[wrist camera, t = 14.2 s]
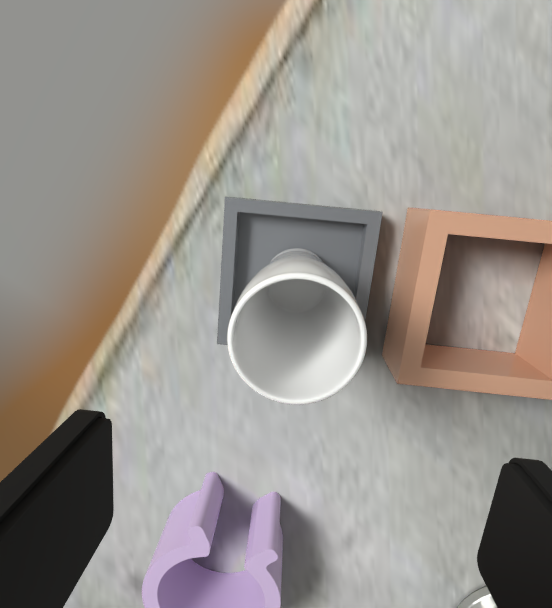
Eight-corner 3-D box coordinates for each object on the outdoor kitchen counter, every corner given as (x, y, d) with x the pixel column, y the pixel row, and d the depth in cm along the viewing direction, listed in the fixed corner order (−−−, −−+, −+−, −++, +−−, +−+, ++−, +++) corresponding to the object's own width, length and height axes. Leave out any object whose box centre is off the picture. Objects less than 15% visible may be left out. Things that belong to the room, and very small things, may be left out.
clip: (243, 634, 45) (234, 709, 39) (140, 602, 45) (113, 673, 38) (303, 499, 40) (304, 560, 33) (186, 461, 40) (164, 515, 33)
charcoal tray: (376, 210, 32) (382, 211, 30) (354, 347, 35) (359, 358, 33) (230, 197, 32) (225, 197, 30) (222, 333, 36) (217, 343, 33)
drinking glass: (325, 228, 32) (350, 253, 17) (345, 306, 33) (384, 389, 19) (245, 251, 32) (205, 294, 18) (269, 326, 34) (249, 421, 20)
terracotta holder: (570, 222, 32) (625, 227, 26) (527, 370, 35) (569, 401, 30) (408, 207, 32) (430, 209, 27) (381, 355, 35) (397, 383, 30)
